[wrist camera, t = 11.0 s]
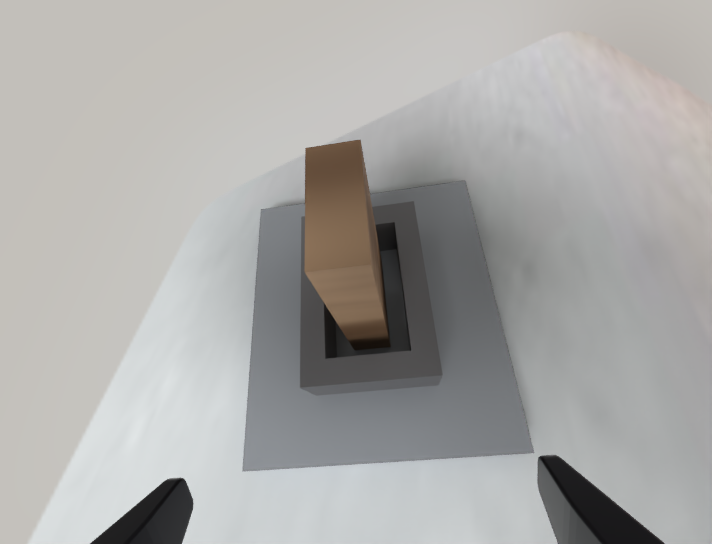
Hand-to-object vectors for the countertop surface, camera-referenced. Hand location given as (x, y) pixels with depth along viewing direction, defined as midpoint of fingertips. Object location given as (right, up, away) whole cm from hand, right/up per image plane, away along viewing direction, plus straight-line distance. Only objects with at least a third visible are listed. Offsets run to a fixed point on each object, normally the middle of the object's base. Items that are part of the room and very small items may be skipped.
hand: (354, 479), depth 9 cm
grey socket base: (+1, +3, +13) cm, 13 cm away
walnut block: (+1, +3, +12) cm, 12 cm away
